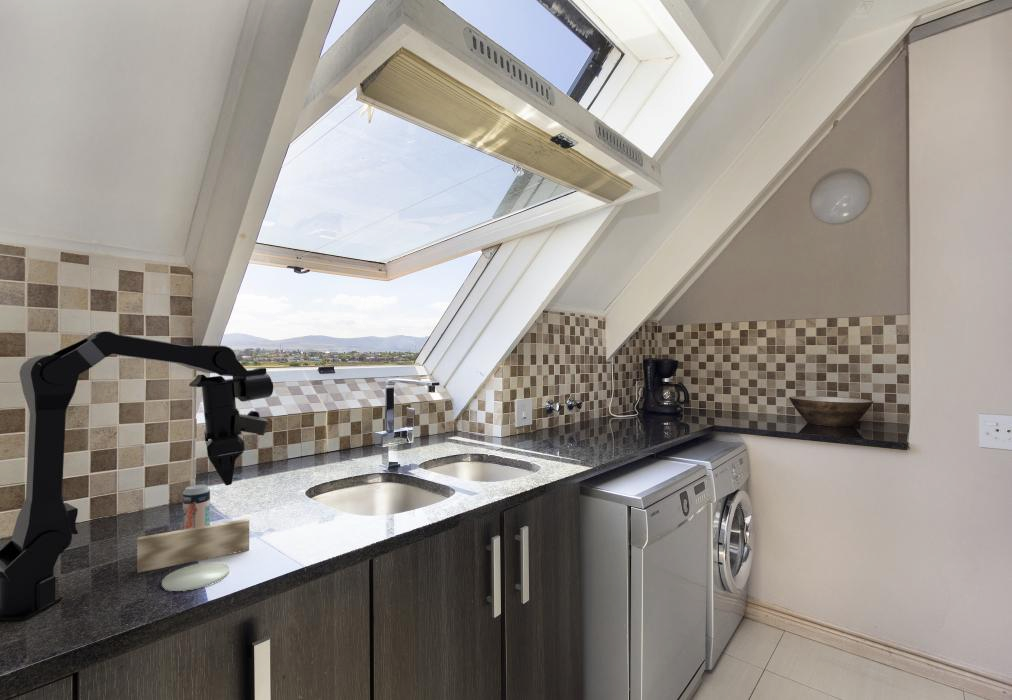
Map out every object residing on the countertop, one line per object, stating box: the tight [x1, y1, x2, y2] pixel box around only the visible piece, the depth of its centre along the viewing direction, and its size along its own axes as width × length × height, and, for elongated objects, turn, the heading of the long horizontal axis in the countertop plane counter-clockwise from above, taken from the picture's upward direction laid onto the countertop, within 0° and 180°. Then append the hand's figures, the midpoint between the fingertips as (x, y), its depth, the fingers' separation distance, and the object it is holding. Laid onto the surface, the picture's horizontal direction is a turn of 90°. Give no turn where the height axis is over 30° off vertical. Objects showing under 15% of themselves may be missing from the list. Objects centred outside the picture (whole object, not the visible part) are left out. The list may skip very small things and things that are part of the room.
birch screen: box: [136, 518, 250, 574], centre depth 91 cm, size 18×2×6 cm, turn 123°
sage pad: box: [161, 561, 230, 592], centre depth 84 cm, size 10×10×1 cm
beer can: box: [182, 483, 211, 530], centre depth 99 cm, size 5×5×12 cm
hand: (227, 479), depth 99 cm, fingers open, 9 cm apart
